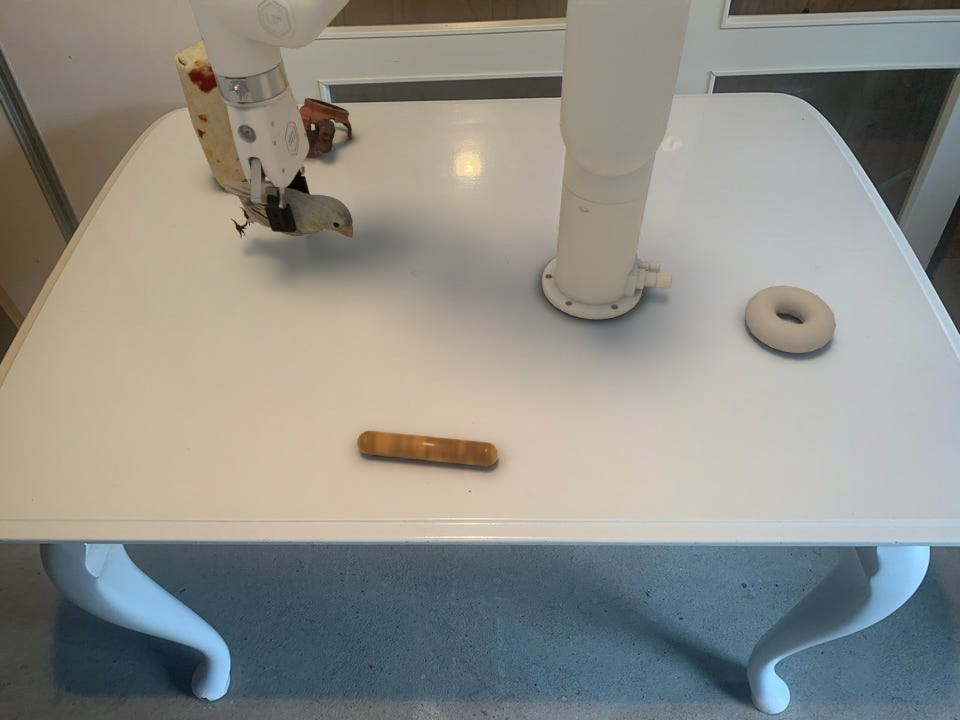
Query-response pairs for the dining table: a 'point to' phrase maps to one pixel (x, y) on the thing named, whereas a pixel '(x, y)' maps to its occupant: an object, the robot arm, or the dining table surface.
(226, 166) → the food model
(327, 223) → the decorative bird
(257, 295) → the dining table surface
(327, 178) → the dining table surface
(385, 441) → the polished stone stick
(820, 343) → the donut
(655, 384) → the dining table surface
